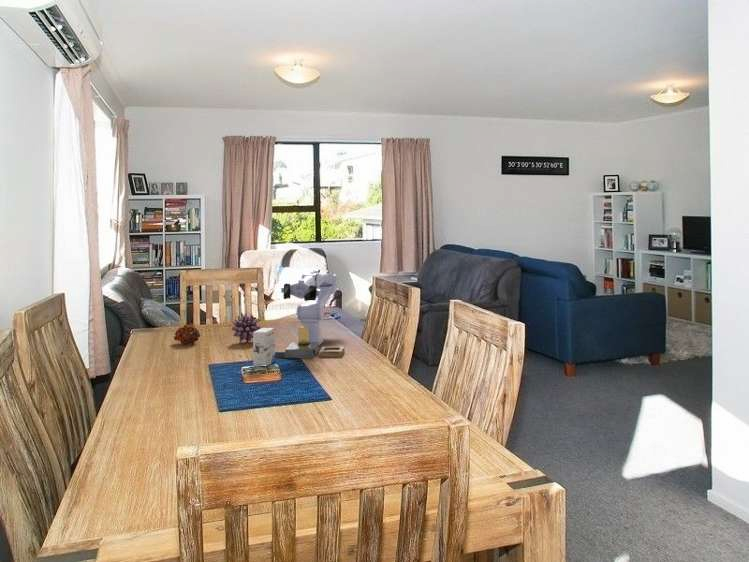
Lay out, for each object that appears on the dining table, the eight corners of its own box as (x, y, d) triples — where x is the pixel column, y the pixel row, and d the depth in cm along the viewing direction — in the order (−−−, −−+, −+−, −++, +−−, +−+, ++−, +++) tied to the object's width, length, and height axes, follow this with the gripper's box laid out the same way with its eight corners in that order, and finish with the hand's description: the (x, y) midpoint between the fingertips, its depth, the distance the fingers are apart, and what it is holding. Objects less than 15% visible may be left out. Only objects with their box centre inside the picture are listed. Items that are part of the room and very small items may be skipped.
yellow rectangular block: (300, 351, 231) (299, 326, 230) (309, 351, 230) (308, 325, 229) (298, 353, 227) (297, 327, 226) (307, 353, 227) (307, 327, 226)
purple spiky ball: (247, 338, 259) (246, 310, 258) (267, 341, 252) (266, 312, 251) (225, 343, 249) (224, 313, 248) (246, 346, 242) (245, 316, 241)
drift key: (271, 355, 224) (270, 347, 224) (295, 355, 224) (295, 347, 223) (268, 357, 221) (268, 349, 221) (293, 357, 221) (293, 349, 220)
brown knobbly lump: (198, 349, 246) (177, 351, 253) (209, 333, 252) (188, 336, 258) (185, 334, 242) (165, 336, 248) (197, 319, 248) (176, 321, 254)
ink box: (262, 360, 216) (261, 327, 215) (276, 361, 215) (275, 327, 214) (253, 366, 208) (251, 332, 207) (267, 367, 207) (266, 332, 206)
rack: (322, 352, 228) (322, 346, 228) (344, 352, 228) (344, 346, 227) (319, 357, 220) (319, 351, 220) (341, 356, 220) (341, 351, 219)
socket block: (292, 350, 233) (292, 342, 233) (319, 349, 232) (318, 342, 232) (285, 357, 220) (284, 349, 220) (313, 357, 219) (312, 349, 219)
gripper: (286, 275, 235) (275, 284, 222) (323, 278, 233) (314, 288, 220) (286, 293, 237) (275, 303, 224) (323, 296, 235) (314, 307, 222)
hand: (294, 297), depth 222 cm, fingers open, 7 cm apart
